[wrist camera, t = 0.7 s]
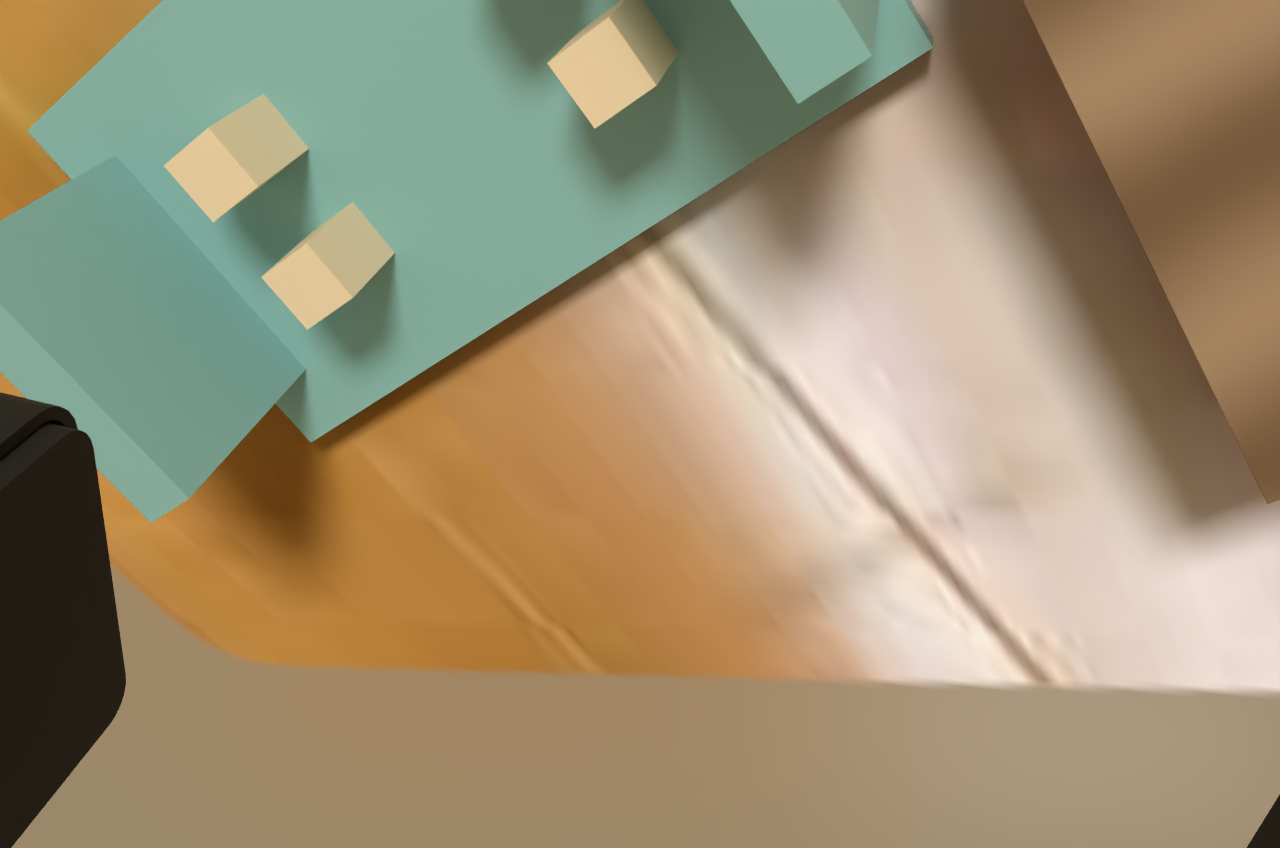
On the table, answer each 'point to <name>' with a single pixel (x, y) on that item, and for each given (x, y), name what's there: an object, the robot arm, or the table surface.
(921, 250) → the table surface
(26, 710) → the robot arm
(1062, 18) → the brown wooden block
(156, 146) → the peg stand
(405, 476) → the table surface
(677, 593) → the table surface
